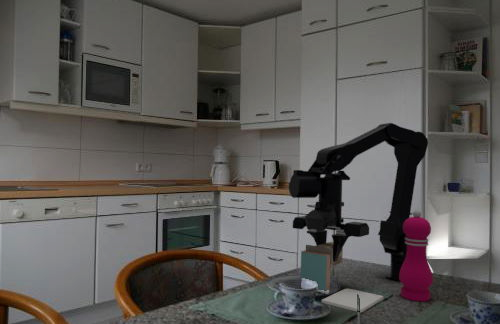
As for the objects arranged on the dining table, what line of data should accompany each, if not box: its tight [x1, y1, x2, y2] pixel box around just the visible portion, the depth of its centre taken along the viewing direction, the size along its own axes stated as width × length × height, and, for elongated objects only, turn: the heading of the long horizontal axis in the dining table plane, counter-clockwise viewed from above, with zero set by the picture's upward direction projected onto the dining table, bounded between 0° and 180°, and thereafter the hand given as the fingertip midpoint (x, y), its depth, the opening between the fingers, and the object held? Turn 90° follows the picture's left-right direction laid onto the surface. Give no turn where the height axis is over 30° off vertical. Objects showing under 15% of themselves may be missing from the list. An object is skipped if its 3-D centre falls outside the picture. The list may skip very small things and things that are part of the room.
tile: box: [300, 249, 331, 291], centre depth 98 cm, size 2×7×9 cm, turn 51°
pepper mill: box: [399, 209, 434, 302], centre depth 95 cm, size 7×7×20 cm
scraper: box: [305, 241, 344, 272], centre depth 103 cm, size 10×7×5 cm
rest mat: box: [321, 287, 384, 313], centre depth 91 cm, size 12×9×1 cm
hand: (328, 260), depth 103 cm, fingers closed on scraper, 3 cm apart
